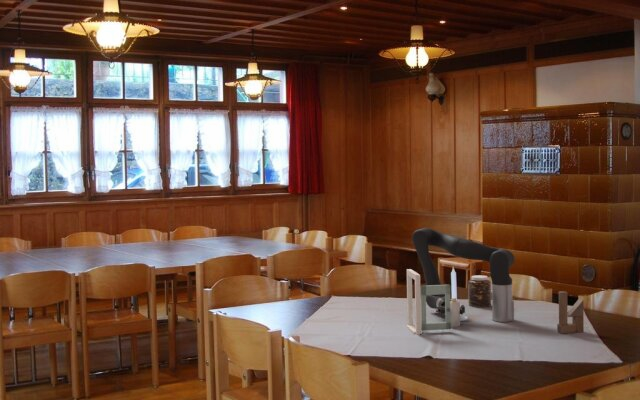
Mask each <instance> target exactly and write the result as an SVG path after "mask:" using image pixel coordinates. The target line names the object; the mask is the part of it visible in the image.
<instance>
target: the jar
mask: <svg viewBox="0 0 640 400" xmlns="http://www.w3.org/2000/svg"><path fill="white" fill-rule="evenodd" d="M488 278H489V277H488V276H487V275H481V274H478V275H472V276H471V277H470V279H469V280H468V284H467V286H468V287H467V289H468V290H467V291H468V293H467V294H468V296H467V298H468V300H467V301H468V303H467V304H468V306H470V307H474V308H489V307H492V281H491V280H490V279H488Z"/></svg>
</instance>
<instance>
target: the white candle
mask: <svg viewBox="0 0 640 400" xmlns="http://www.w3.org/2000/svg"><path fill="white" fill-rule="evenodd" d="M460 307H461V301H459V300H457V298H455V297H453V298H451V301H450V315H451V327H452V328H455V327H458V326H459V327H460V326H461V314H460Z"/></svg>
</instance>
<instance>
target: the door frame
mask: <svg viewBox="0 0 640 400" xmlns="http://www.w3.org/2000/svg"><path fill="white" fill-rule="evenodd" d="M413 280H414V296H415V297H414V303H415V304H414V307H413ZM406 305H407V306H406V309H407V311H406V312H407V313H406V314H407V325H406V328H407V329H408V330H409V332H411V333H412V334H413V335H416V336H418V335H419V336H420V334H421V335H422V334H423V331H422V330H421V274H419V273H418V272H417V271H415V270H413V269H411V268H409V269H408V268H406ZM413 308H415V309H414V310H415V320H414V316H413V315H414V314H413V313H414V311H413ZM414 321H415V324H414Z"/></svg>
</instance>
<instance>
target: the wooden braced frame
mask: <svg viewBox="0 0 640 400" xmlns="http://www.w3.org/2000/svg"><path fill="white" fill-rule="evenodd" d="M584 307H585V305H584V299H581V298H578V299H577V300H576V302H575V303H574V304H573V305H572V306H571V308H570V309H569V310H568V292H567V291H566V290H565V291H563V290H562V291H560V290H559V291H558V324H557V325H556V327H557V328H556V329H557V333H559V334H561V335H565V334H576V333H578V334H579V333H584V327H585V325H584V320H585V319H584V316H585V315H584V314H585V312H584ZM568 318H571V319H572V320H571V321H572V323H569V322H568Z"/></svg>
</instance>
